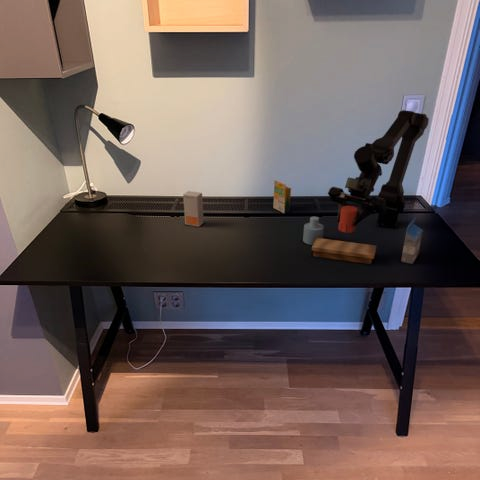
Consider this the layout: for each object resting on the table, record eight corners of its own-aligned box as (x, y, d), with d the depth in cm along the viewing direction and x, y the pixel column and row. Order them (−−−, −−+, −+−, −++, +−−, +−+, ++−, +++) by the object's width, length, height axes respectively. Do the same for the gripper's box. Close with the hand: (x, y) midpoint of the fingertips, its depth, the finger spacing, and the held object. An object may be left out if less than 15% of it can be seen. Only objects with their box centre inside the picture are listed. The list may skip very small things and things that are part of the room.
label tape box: (412, 264, 147) (420, 228, 140) (399, 261, 149) (407, 226, 142) (419, 253, 153) (427, 219, 146) (407, 251, 155) (414, 216, 148)
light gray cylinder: (323, 238, 164) (326, 215, 159) (320, 246, 158) (322, 223, 154) (305, 235, 166) (306, 213, 161) (301, 243, 160) (302, 220, 156)
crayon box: (289, 212, 185) (291, 183, 178) (284, 213, 183) (285, 184, 177) (278, 206, 190) (279, 178, 183) (273, 208, 188) (274, 180, 182)
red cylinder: (351, 226, 149) (354, 205, 145) (356, 232, 145) (359, 211, 141) (336, 226, 149) (339, 206, 145) (341, 233, 145) (343, 212, 141)
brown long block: (374, 255, 152) (376, 245, 150) (372, 265, 147) (374, 255, 145) (315, 247, 158) (316, 237, 156) (311, 256, 152) (311, 247, 150)
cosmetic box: (185, 224, 175) (182, 194, 168) (190, 220, 178) (187, 190, 171) (199, 227, 173) (197, 196, 166) (204, 223, 176) (202, 192, 169)
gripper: (333, 161, 143) (311, 205, 143) (389, 172, 133) (366, 219, 133) (343, 179, 153) (322, 221, 152) (396, 191, 143) (374, 235, 142)
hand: (345, 223), depth 145 cm, fingers closed on red cylinder, 5 cm apart
